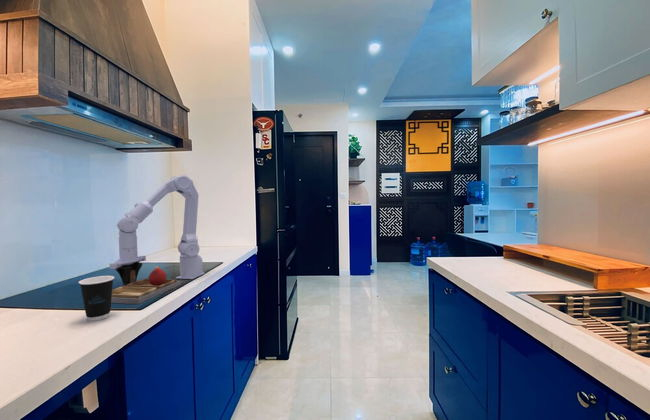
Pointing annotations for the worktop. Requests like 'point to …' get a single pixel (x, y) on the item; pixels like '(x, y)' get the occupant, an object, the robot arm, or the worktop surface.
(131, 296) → the oak tray
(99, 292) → the dixie cup
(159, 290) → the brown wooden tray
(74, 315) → the worktop surface
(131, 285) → the walnut tray
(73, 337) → the worktop surface
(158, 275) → the onion
